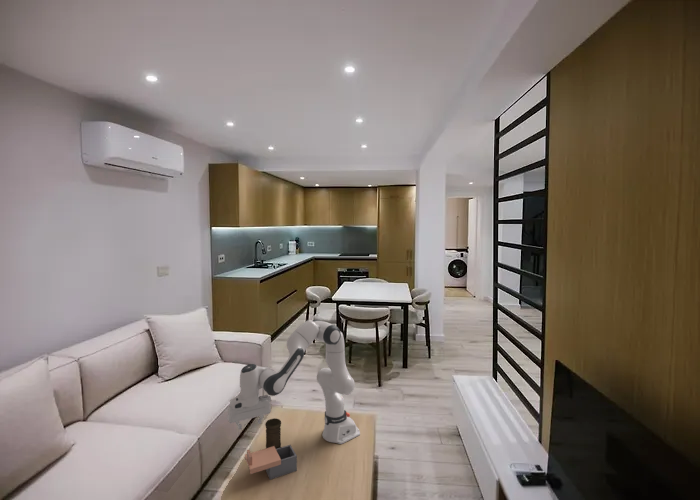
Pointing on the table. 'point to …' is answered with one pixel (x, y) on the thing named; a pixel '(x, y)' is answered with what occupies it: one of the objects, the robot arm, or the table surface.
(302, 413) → the table surface
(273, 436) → the container
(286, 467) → the tub
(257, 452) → the lid
